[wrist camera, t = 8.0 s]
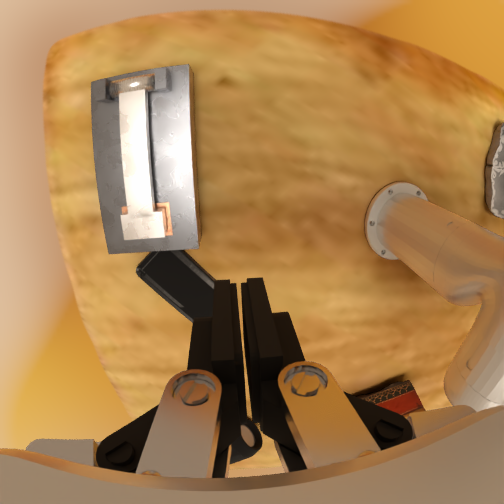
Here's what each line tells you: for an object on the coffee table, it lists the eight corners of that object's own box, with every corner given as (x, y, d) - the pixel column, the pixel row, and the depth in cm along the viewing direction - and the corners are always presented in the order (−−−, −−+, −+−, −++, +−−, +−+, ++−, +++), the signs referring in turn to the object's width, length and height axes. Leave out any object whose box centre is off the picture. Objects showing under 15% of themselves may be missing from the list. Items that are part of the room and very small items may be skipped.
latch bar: (115, 82, 25) (109, 79, 24) (157, 75, 26) (153, 71, 24) (128, 235, 33) (123, 241, 31) (167, 232, 33) (164, 238, 31)
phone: (167, 236, 38) (240, 305, 43) (168, 234, 39) (240, 301, 44) (132, 271, 40) (204, 332, 45) (134, 268, 41) (204, 328, 46)
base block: (106, 87, 30) (80, 78, 23) (193, 73, 31) (185, 57, 23) (120, 240, 38) (100, 264, 31) (201, 234, 39) (196, 258, 32)
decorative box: (410, 366, 57) (440, 412, 42) (396, 419, 64) (416, 460, 48) (330, 388, 58) (349, 444, 42) (329, 438, 65) (341, 485, 49)
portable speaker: (234, 407, 55) (237, 445, 45) (262, 423, 58) (267, 458, 49) (159, 439, 59) (155, 471, 50) (187, 453, 63) (186, 483, 53)
